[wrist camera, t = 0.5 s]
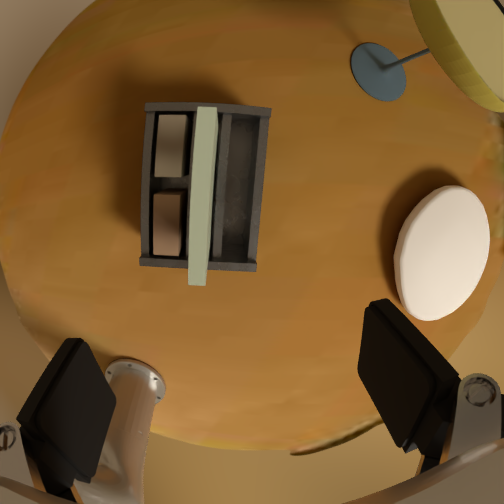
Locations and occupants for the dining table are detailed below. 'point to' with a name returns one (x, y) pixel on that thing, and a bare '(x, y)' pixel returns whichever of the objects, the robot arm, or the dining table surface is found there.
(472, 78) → the cocktail glass
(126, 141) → the dining table surface
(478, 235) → the plate
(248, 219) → the rack
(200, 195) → the sage sheet
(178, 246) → the walnut offcut
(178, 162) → the brown offcut
